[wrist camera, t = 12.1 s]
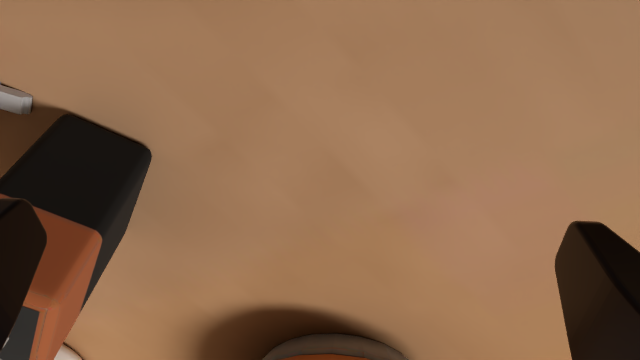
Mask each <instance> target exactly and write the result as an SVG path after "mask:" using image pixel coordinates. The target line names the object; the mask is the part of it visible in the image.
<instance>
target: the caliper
mask: <svg viewBox="0 0 640 360" xmlns="http://www.w3.org/2000/svg"><path fill="white" fill-rule="evenodd" d="M32 97H33V96H31V95H30V94H28V93H25V92H22V91H19V90H16V89H12V88H9V87H6V86H2V85H1V82H0V109H3V110H6V111H9V112H13V113H16V114H20V115H21V114H23V113H24V114H30V113H31V105H32Z"/></svg>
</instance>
